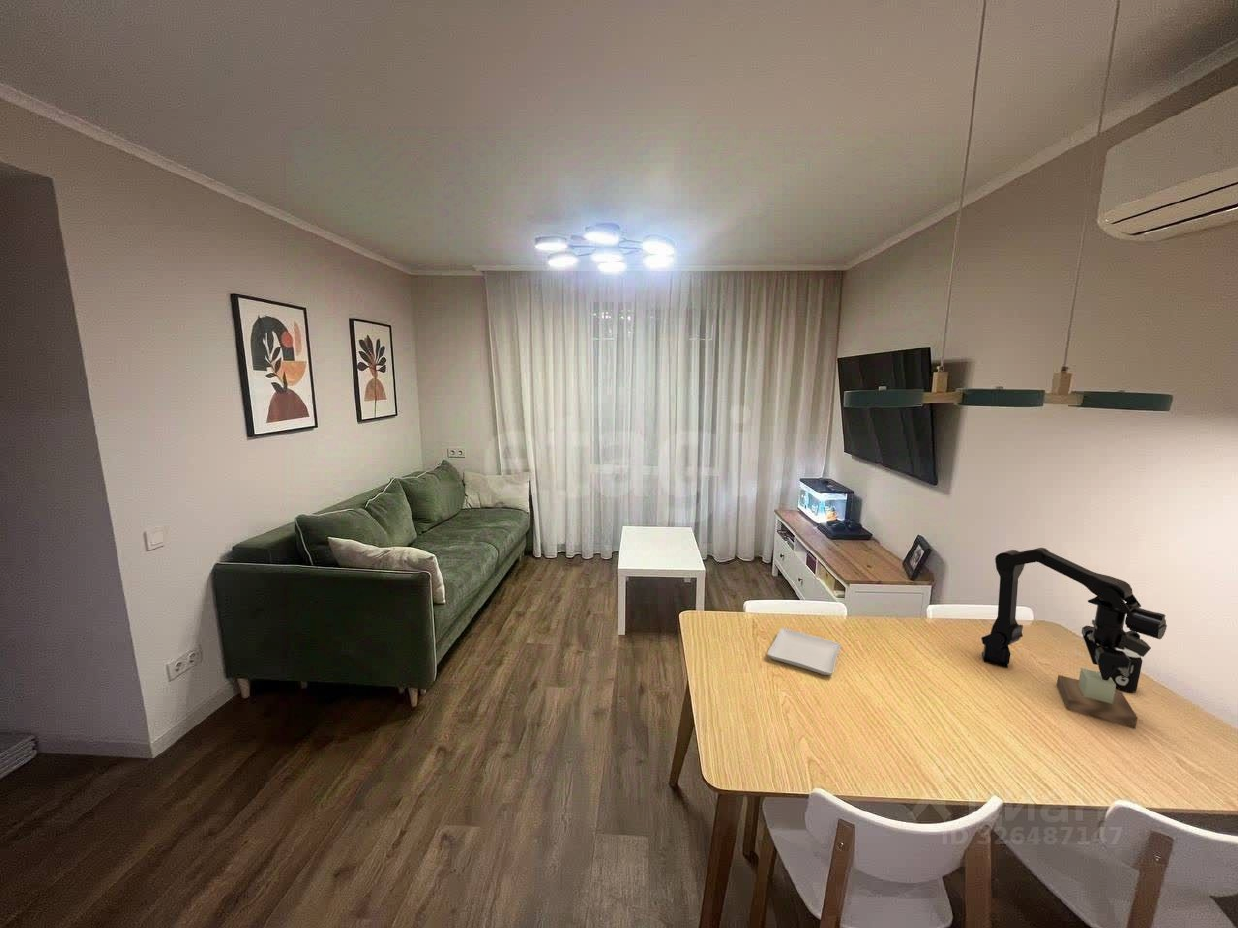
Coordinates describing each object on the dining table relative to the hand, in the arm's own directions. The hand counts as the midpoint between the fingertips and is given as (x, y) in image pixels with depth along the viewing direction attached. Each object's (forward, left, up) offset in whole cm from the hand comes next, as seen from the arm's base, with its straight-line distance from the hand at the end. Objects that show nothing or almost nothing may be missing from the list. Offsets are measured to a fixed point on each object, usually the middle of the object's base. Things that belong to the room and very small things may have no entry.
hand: (1100, 671), depth 137 cm
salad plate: (-78, -20, -12) cm, 81 cm away
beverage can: (+10, +17, -11) cm, 23 cm away
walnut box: (0, 0, -12) cm, 12 cm away
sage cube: (0, 0, -8) cm, 8 cm away
